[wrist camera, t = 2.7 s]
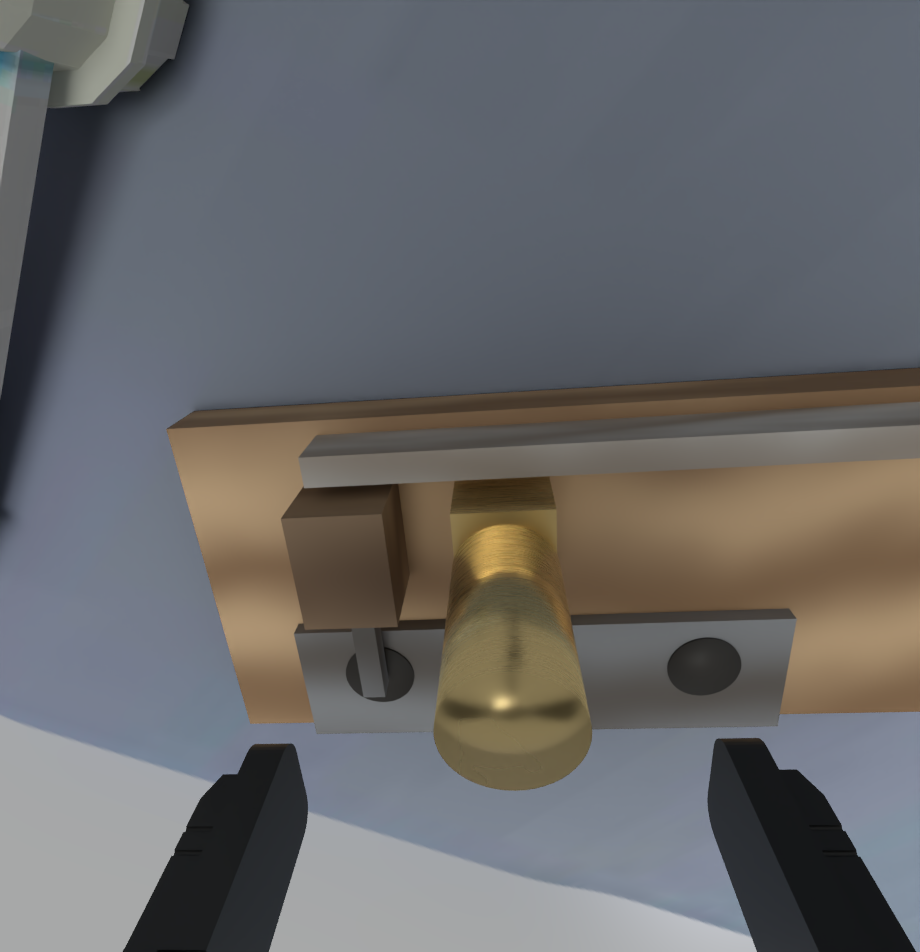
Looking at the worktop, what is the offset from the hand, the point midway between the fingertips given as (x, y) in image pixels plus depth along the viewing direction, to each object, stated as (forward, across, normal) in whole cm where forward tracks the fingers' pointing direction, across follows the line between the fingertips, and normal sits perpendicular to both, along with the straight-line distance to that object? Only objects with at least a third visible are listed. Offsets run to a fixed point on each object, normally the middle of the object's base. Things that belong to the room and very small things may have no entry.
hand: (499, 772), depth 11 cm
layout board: (+12, -3, +2) cm, 13 cm away
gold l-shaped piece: (+10, 0, +2) cm, 10 cm away
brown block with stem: (+10, +5, +2) cm, 11 cm away
